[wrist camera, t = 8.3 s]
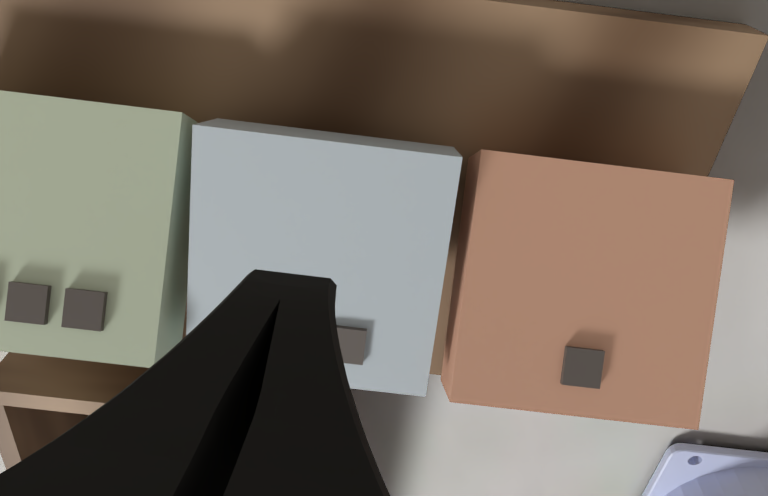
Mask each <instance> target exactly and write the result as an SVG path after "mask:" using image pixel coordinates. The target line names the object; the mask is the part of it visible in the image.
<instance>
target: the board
mask: <svg viewBox="0 0 768 496" xmlns="http://www.w3.org/2000/svg"><path fill="white" fill-rule="evenodd" d="M767 40H768V35H766V34H764V33H762V32H760V31H758V30H756V29H754V28H752V27H750V26H748V25H745V24H737V23H729V22H721V21H713V20H705V19H698V18H690V17H682V16H674V15H666V14H658V13H650V12H642V11H634V10H626V9H618V8H611V7H603V6H595V5H587V4H579V3H571V2H563V1H555V0H0V90H2V91H10V92H19V93H27V94H35V95H43V96H51V97H60V98H68V99H76V100H84V101H93V102H101V103H109V104H117V105H126V106H134V107H142V108H150V109H159V110H167V111H175V112H182V113H184V114H186V115H187V116H189V117H190V118H192V119H193V120H195V121H196V122H198V123H201V122H205V121H209V120H213V119H216V118H220V119H228V120H237V121H245V122H253V123H261V124H270V125H278V126H286V127H294V128H303V129H311V130H319V131H327V132H336V133H344V134H352V135H360V136H369V137H377V138H385V139H393V140H402V141H410V142H418V143H426V144H434V145H443V146H451V147H454V148H455V149H456V150H457V151H458V152H459V154H460V155H461V156H462V157H463V158H462V165H461V171H460V178H459V184H458V191H457V197H456V204H455V210H454V216H453V223H452V229H451V236H450V242H449V249H448V255H447V262H446V268H445V275H444V281H443V288H442V294H441V301H440V307H439V314H438V320H437V327H436V333H435V340H434V346H433V353H432V359H431V366H430V372H429V374H436V375H441V374H442V366H443V358H444V350H445V342H446V333H447V325H448V317H449V309H450V301H451V293H452V285H453V277H454V269H455V261H456V253H457V245H458V237H459V229H460V220H461V212H462V204H463V196H464V188H465V180H466V172H467V164H468V158H469V157H471V156H472V155H474V154H475V153H477V152H478V151H480V150H481V149H483V150H491V151H500V152H508V153H516V154H524V155H532V156H541V157H549V158H557V159H565V160H574V161H582V162H590V163H598V164H607V165H615V166H623V167H631V168H640V169H648V170H656V171H664V172H673V173H681V174H689V175H697V176H706V177H708V175H709V172H710V170H711V168H712V166H713V163H714V161H715V159H716V157H717V154H718V152H719V150H720V147H721V145H722V143H723V141H724V138H725V136H726V134H727V131H728V129H729V127H730V125H731V122H732V120H733V118H734V116H735V113H736V111H737V109H738V106H739V104H740V102H741V100H742V97H743V95H744V93H745V90H746V88H747V86H748V84H749V81H750V79H751V77H752V75H753V72H754V70H755V68H756V65H757V63H758V61H759V59H760V56H761V54H762V52H763V50H764V47H765V45H766V43H767ZM186 322H187V301H186V310H185V319H184V328H183V336H182V339H183V338H184V337H185V336H186ZM148 369H149V368H146V367H137V366H128V365H120V364H111V363H102V362H93V361H84V360H75V359H66V358H58V357H49V356H40V355H31V354H22V353H13V352H9V353H8V354H7V355H6V356H5V358H4V359H3V360H2V361H1V362H0V453H1V456H2V458H3V461H4V464H5V467H6V470H7V469H9V468H11V467H12V466H14V465H15V464H17V463H19V462H20V461H22V460H23V459H25V458H27V457H28V456H30V455H31V454H33V453H34V452H36V451H37V450H39V449H41V448H42V447H44V446H45V445H47V444H48V443H50V442H51V441H53V440H54V439H56V438H57V437H59V436H60V435H62V434H63V433H65V432H66V431H68V430H69V429H70V428H72V427H73V426H75V425H76V424H78V423H79V422H80V421H82V420H83V419H85V418H86V417H87V416H88V415H90V414H92V413H93V412H94V411H96V410H97V409H98V408H100V407H101V406H102V405H104V404H105V403H106V402H108V401H109V400H110V399H112V398H113V397H114V396H116V395H117V394H118V393H119V392H121V391H122V390H123V389H125V388H126V387H127V386H128V385H130V384H131V383H132V382H133V381H134V380H136V379H137V378H138V377H139V376H140V375H142V374H143V373H144V372H145V371H146V370H148Z"/></svg>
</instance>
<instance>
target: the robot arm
mask: <svg viewBox="0 0 768 496" xmlns="http://www.w3.org/2000/svg"><path fill="white" fill-rule="evenodd" d="M336 289H337V285H336V284H335V283H334V281H333V280H332V279H331V278H325V277H316V276H308V275H299V274H291V273H283V272H274V271H266V270H257V269H255V270H253V271H252V272H250V273H249V274H248V275H247V276H246V277H245V278H244V279H243V280H242V281H241V282H240V283H239V284H238V285H237V286H236V287H235V288H234V289H233V291H232V292H231V293H230V294H229V295H228V296H227V297H226V298H225V299H224V300H223V301H222V302H221V303H220V304H219V305H218V306H217V307H216V308H215V309H214V310H213V311H212V312H211V313H210V314H209V315H208V316H207V317H206V318H205V319H204V320H203V321H201V322H200V323H199V324H198V325H197V326H196V327H195V328H194V329H193V330H192V331H191V332H190V333H189V334H187V335H186V336H185V337H184V338H183V339H182V340H181V341H180V342H179V343H178V344H177V345H176V346H175V347H173V348H172V349H171V350H170V351H169V352H168V353H167V354H166V355H164V356H163V357H162V358H161V359H160V360H158V361H157V362H156V363H155V364H154V365H152V366H151V367H150V368H149V369H148V370H146V371H145V372H144V373H143V374H142V375H140V376H139V377H138V378H137V379H136V380H134V381H133V382H132V383H131V384H130V385H128V386H127V387H126V388H125V389H123V390H122V391H121V392H119V393H118V394H117V395H116V396H114V397H113V398H112V399H110V400H109V401H108V402H106V403H105V404H104V405H102V406H101V407H100V408H98V409H97V410H96V411H94V412H93V413H92V414H90V415H89V416H87V417H86V418H85V419H83V420H82V421H80V422H79V423H78V424H76V425H75V426H73V427H72V428H70V429H69V430H68V431H66V432H65V433H63V434H62V435H60V436H59V437H57V438H56V439H54V440H53V441H51V442H50V443H48V444H47V445H45V446H44V447H42V448H41V449H39V450H37V451H36V452H34V453H33V454H31V455H30V456H28V457H27V458H25V459H23V460H22V461H20V462H19V463H17V464H15V465H14V466H12V467H11V468H9V469H7V470H6V471H4V472H2V473H1V474H0V496H390V495H389V492H388V490H387V488H386V486H385V483H384V481H383V479H382V477H381V474H380V472H379V469H378V467H377V464H376V462H375V459H374V457H373V454H372V452H371V449H370V447H369V444H368V441H367V439H366V436H365V433H364V430H363V428H362V425H361V422H360V419H359V416H358V412H357V409H356V406H355V403H354V400H353V397H352V393H351V390H350V386H349V382H348V379H347V375H346V371H345V366H344V362H343V358H342V353H341V349H340V344H339V338H338V332H337V324H336V316H335V301H336ZM642 496H768V452H759V451H750V450H741V449H732V448H723V447H714V446H705V445H696V444H688V443H676V444H673V445H671V446H670V447H669V448H668V449H667V450H666V452H665V453H664V455H663V457H662V459H661V461H660V463H659V464H658V466H657V468H656V470H655V472H654V474H653V475H652V477H651V479H650V481H649V483H648V485H647V486H646V488H645V490H644V492H643V494H642Z"/></svg>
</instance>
